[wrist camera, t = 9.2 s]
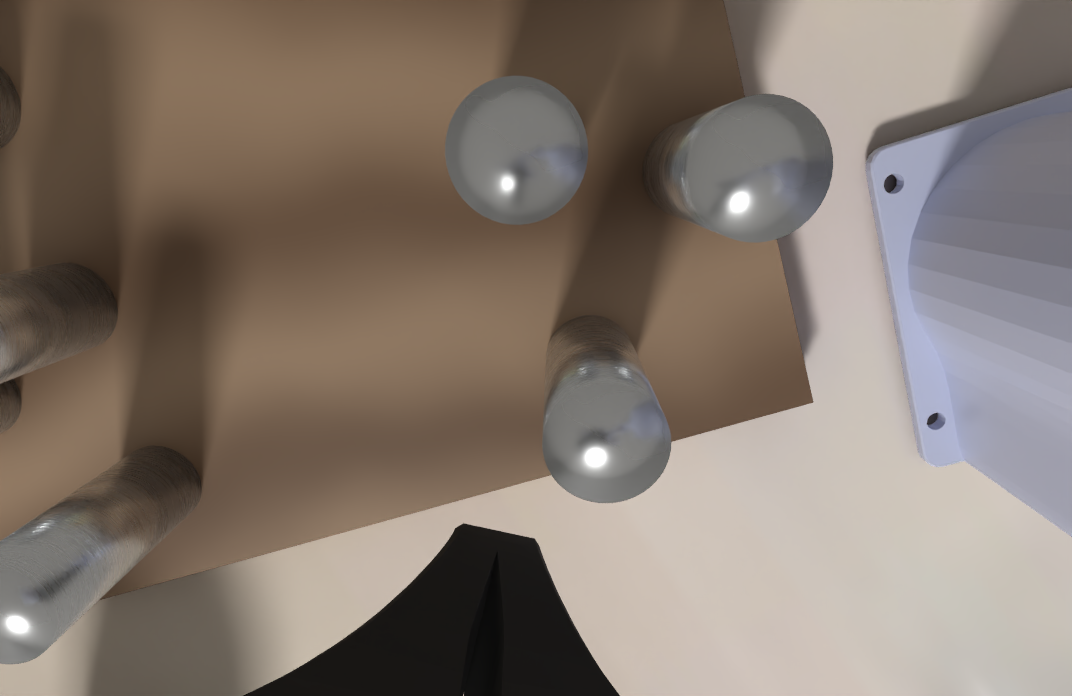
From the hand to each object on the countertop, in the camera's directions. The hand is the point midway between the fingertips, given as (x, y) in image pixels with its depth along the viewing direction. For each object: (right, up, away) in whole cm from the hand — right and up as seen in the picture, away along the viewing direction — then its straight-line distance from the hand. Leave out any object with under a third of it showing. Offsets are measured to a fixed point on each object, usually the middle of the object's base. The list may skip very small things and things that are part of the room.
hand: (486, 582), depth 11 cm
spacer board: (-5, +7, +8) cm, 12 cm away
